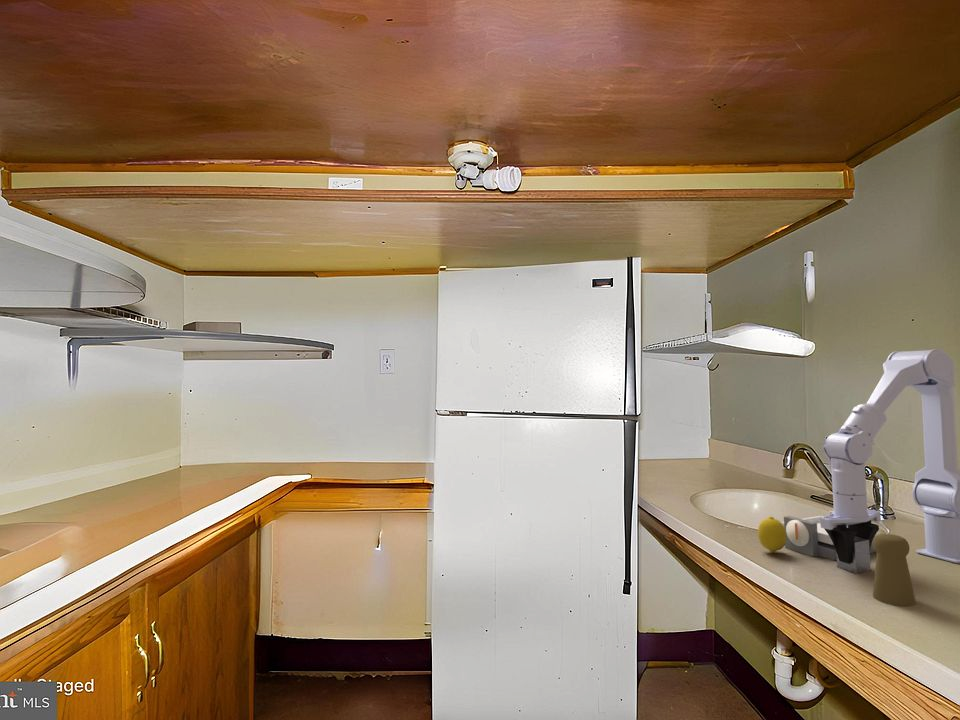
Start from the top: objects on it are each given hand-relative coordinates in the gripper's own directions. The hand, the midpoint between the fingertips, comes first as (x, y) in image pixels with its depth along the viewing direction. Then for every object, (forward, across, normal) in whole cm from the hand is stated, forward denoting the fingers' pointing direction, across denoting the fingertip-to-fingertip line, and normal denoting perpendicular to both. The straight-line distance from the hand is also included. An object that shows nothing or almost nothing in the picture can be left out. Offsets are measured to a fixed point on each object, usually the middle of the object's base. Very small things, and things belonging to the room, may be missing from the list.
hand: (853, 560), depth 111 cm
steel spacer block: (+2, 0, 0) cm, 2 cm away
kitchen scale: (+2, -7, -12) cm, 14 cm away
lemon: (+2, +6, -14) cm, 15 cm away
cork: (+2, +8, +13) cm, 15 cm away
